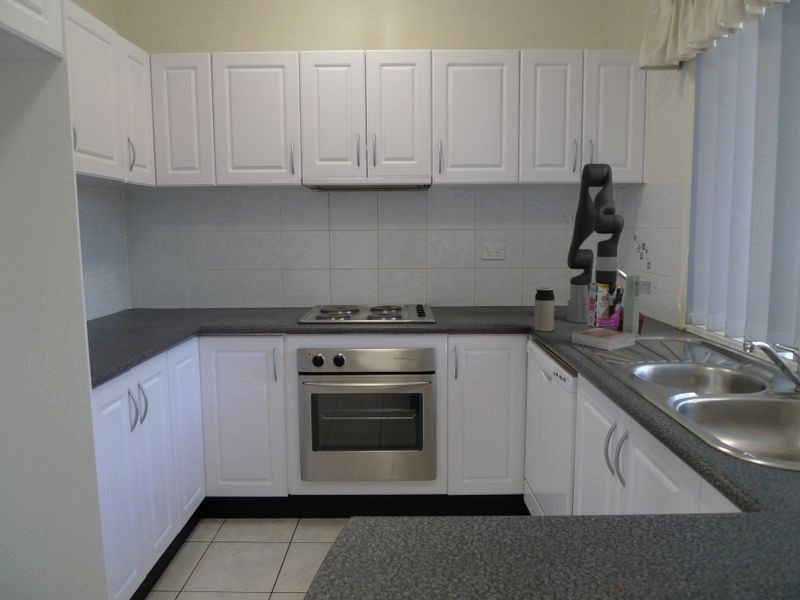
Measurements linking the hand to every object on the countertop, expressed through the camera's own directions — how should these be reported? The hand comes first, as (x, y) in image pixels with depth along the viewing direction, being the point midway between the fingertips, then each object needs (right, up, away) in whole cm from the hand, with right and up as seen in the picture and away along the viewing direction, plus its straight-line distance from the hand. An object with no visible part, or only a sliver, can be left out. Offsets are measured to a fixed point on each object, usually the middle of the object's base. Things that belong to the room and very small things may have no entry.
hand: (604, 313), depth 208 cm
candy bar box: (0, -5, +1) cm, 5 cm away
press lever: (+11, +9, +10) cm, 18 cm away
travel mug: (-15, -8, +28) cm, 33 cm away
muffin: (+18, -9, +21) cm, 29 cm away
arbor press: (+4, -11, +4) cm, 12 cm away
